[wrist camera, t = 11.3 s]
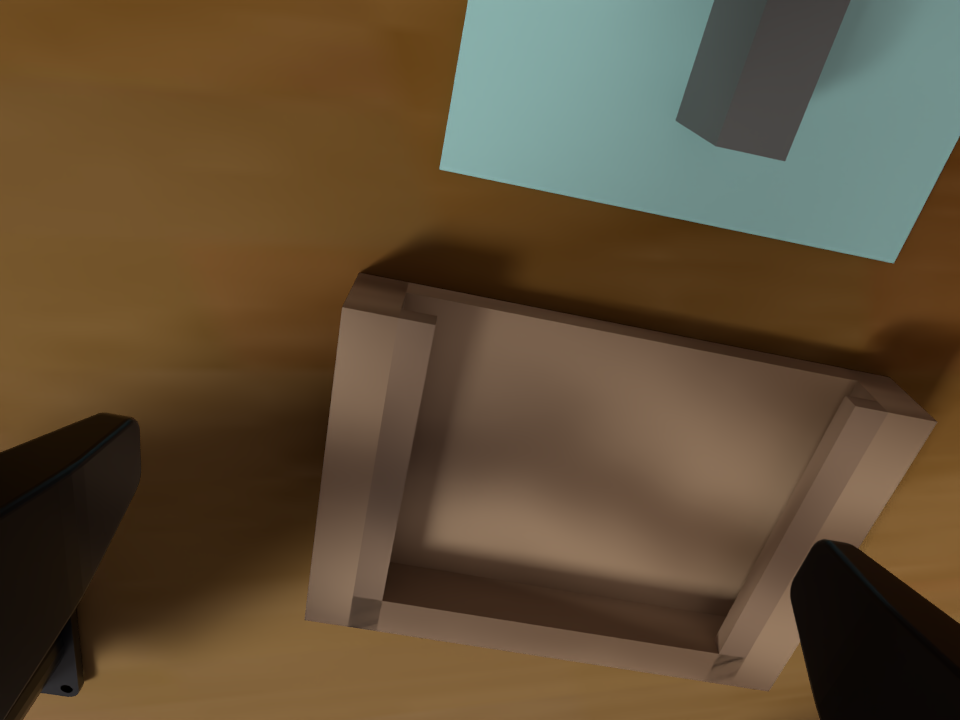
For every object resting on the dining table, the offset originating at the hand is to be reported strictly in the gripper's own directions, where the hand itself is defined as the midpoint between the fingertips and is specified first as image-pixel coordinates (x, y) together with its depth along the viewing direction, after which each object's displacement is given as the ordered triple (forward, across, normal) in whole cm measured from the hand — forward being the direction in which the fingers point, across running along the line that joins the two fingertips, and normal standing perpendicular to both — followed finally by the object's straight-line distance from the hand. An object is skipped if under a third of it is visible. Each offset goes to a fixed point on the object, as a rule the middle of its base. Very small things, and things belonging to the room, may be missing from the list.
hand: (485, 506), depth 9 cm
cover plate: (+13, -5, -6) cm, 15 cm away
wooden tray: (+12, -5, +8) cm, 15 cm away
